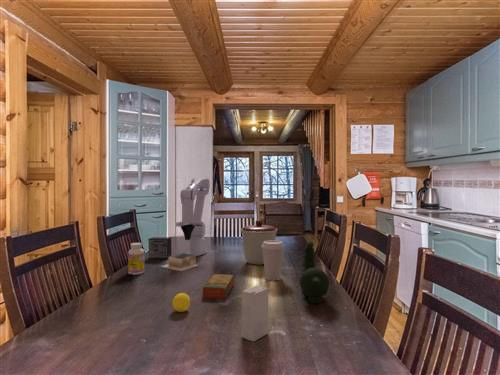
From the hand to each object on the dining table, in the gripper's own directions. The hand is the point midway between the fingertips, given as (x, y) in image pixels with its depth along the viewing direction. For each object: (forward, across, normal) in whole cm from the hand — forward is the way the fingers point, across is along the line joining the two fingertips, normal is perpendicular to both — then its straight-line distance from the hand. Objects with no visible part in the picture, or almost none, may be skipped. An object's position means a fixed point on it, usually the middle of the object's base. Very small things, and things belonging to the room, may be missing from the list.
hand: (187, 239), depth 168 cm
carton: (+13, -28, -42) cm, 52 cm away
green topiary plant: (+12, -15, -73) cm, 76 cm away
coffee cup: (+12, -4, -51) cm, 53 cm away
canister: (+11, +16, -32) cm, 38 cm away
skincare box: (+14, -51, -72) cm, 90 cm away
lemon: (+13, -49, -44) cm, 67 cm away
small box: (+10, -3, +17) cm, 20 cm away
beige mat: (+11, -11, -5) cm, 16 cm away
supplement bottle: (+12, -29, +3) cm, 31 cm away
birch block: (+8, -4, -6) cm, 11 cm away
